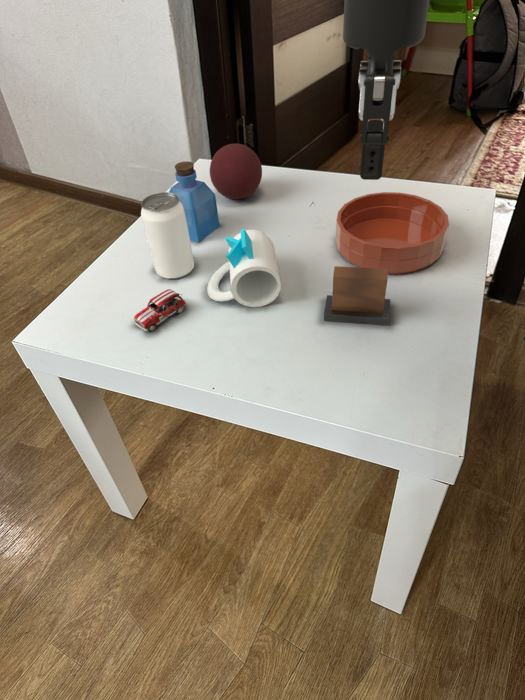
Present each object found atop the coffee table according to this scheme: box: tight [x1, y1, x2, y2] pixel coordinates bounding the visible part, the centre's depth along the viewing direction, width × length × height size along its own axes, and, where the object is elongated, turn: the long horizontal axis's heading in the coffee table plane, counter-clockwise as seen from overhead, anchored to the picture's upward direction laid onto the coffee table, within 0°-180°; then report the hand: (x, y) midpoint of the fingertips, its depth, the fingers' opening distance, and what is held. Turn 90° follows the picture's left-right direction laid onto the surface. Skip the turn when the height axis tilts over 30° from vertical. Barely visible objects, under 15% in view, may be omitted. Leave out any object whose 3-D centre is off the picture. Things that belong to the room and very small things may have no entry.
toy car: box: [133, 288, 187, 333], centre depth 71 cm, size 4×8×3 cm, turn 136°
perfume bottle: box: [168, 160, 221, 243], centre depth 85 cm, size 6×6×12 cm
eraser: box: [323, 265, 391, 326], centre depth 68 cm, size 9×4×7 cm, turn 79°
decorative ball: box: [209, 143, 263, 200], centre depth 94 cm, size 10×10×10 cm
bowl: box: [335, 191, 450, 275], centre depth 80 cm, size 17×17×5 cm
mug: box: [206, 228, 282, 308], centre depth 75 cm, size 12×9×12 cm
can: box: [140, 191, 195, 280], centre depth 77 cm, size 6×6×12 cm
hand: (371, 160), depth 55 cm, fingers open, 8 cm apart
